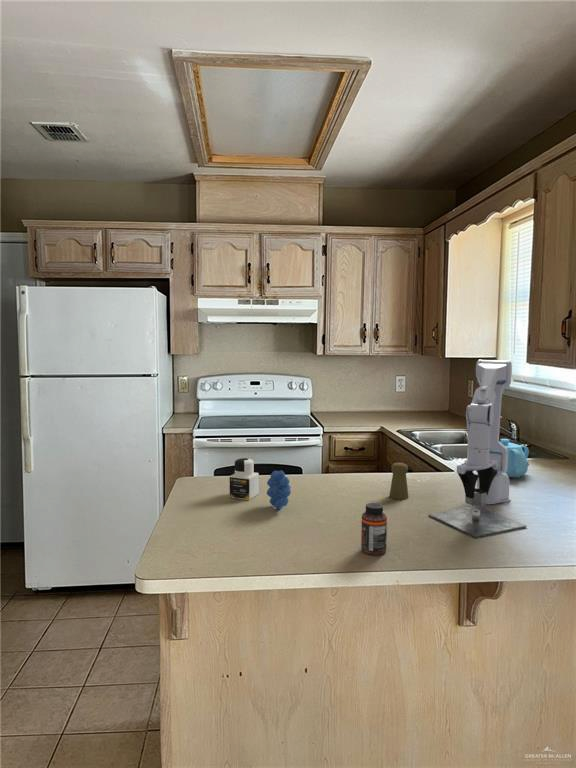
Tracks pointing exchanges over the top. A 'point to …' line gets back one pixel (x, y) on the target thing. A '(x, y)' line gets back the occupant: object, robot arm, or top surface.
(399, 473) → the cork
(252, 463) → the medicine bottle
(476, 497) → the ring
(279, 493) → the grapes
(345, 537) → the top surface
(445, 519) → the stand
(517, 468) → the decorative pot
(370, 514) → the supplement bottle
